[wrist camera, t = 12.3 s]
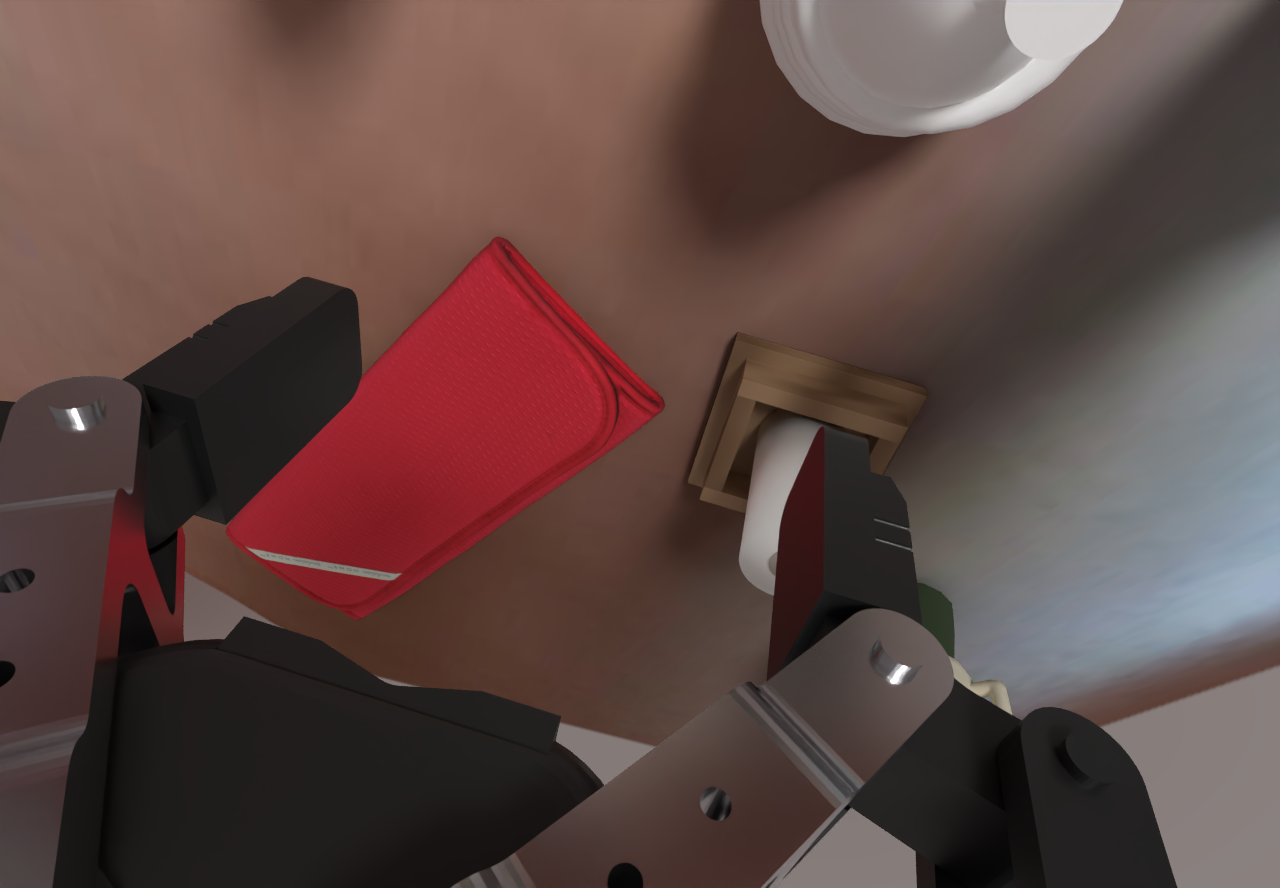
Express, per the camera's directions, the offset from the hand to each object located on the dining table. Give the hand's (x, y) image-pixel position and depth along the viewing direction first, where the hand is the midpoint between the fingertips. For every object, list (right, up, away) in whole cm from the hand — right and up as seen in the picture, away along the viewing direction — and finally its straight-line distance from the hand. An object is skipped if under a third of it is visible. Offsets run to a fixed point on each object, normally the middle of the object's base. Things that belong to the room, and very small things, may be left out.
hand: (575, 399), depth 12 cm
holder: (+12, 0, +35) cm, 37 cm away
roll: (+12, 0, +34) cm, 36 cm away
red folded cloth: (-16, -2, +45) cm, 48 cm away
